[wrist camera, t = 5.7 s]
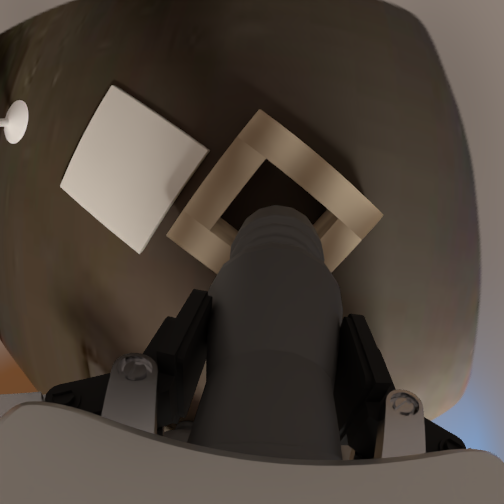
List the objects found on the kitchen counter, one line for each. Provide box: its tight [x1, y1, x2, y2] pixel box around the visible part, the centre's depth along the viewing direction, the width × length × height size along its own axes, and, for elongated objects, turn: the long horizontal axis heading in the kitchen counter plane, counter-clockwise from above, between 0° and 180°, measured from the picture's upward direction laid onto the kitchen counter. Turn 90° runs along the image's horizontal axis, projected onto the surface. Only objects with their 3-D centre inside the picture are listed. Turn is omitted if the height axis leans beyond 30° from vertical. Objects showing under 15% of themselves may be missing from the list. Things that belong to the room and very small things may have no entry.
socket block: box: [166, 109, 383, 274], centre depth 27 cm, size 14×14×5 cm
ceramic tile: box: [60, 85, 210, 254], centre depth 28 cm, size 14×14×1 cm
